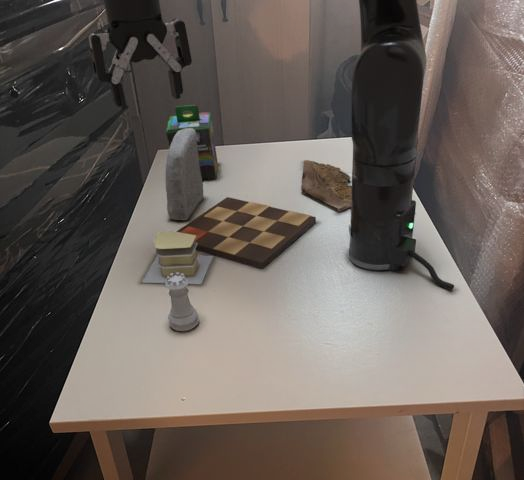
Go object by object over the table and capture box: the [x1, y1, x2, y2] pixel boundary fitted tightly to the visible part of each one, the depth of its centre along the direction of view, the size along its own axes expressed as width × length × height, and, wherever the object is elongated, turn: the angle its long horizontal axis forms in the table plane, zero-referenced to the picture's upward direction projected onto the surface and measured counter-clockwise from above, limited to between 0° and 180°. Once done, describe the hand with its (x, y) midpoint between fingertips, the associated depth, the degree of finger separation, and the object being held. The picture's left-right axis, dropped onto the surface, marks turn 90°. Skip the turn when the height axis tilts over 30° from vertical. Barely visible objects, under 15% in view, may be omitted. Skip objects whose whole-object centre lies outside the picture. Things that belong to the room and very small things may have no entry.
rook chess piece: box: [164, 273, 200, 332], centre depth 84 cm, size 4×4×8 cm
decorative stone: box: [164, 128, 204, 221], centre depth 111 cm, size 11×6×15 cm, turn 168°
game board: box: [175, 196, 317, 270], centre depth 106 cm, size 20×18×1 cm
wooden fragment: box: [300, 159, 352, 214], centre depth 120 cm, size 26×11×1 cm, turn 9°
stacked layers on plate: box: [141, 230, 214, 285], centre depth 96 cm, size 10×9×6 cm
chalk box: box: [165, 104, 219, 181], centre depth 125 cm, size 9×9×15 cm
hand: (150, 103), depth 89 cm, fingers open, 8 cm apart
